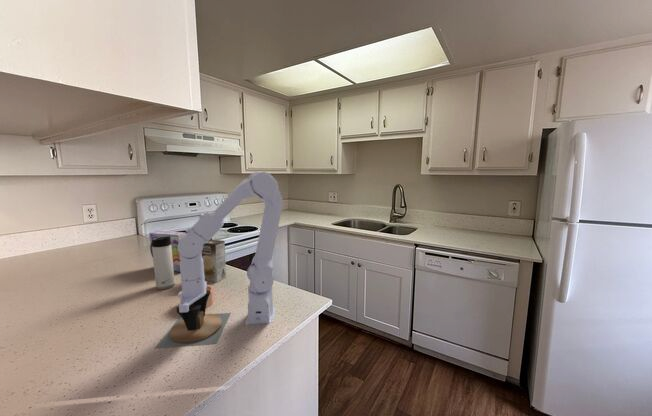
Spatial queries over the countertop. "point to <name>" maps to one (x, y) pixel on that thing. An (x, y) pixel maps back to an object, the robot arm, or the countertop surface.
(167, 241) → the travel mug
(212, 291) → the bowl
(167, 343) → the mat
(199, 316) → the lid
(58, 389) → the countertop surface
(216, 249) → the coffee box
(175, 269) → the cake pan box
